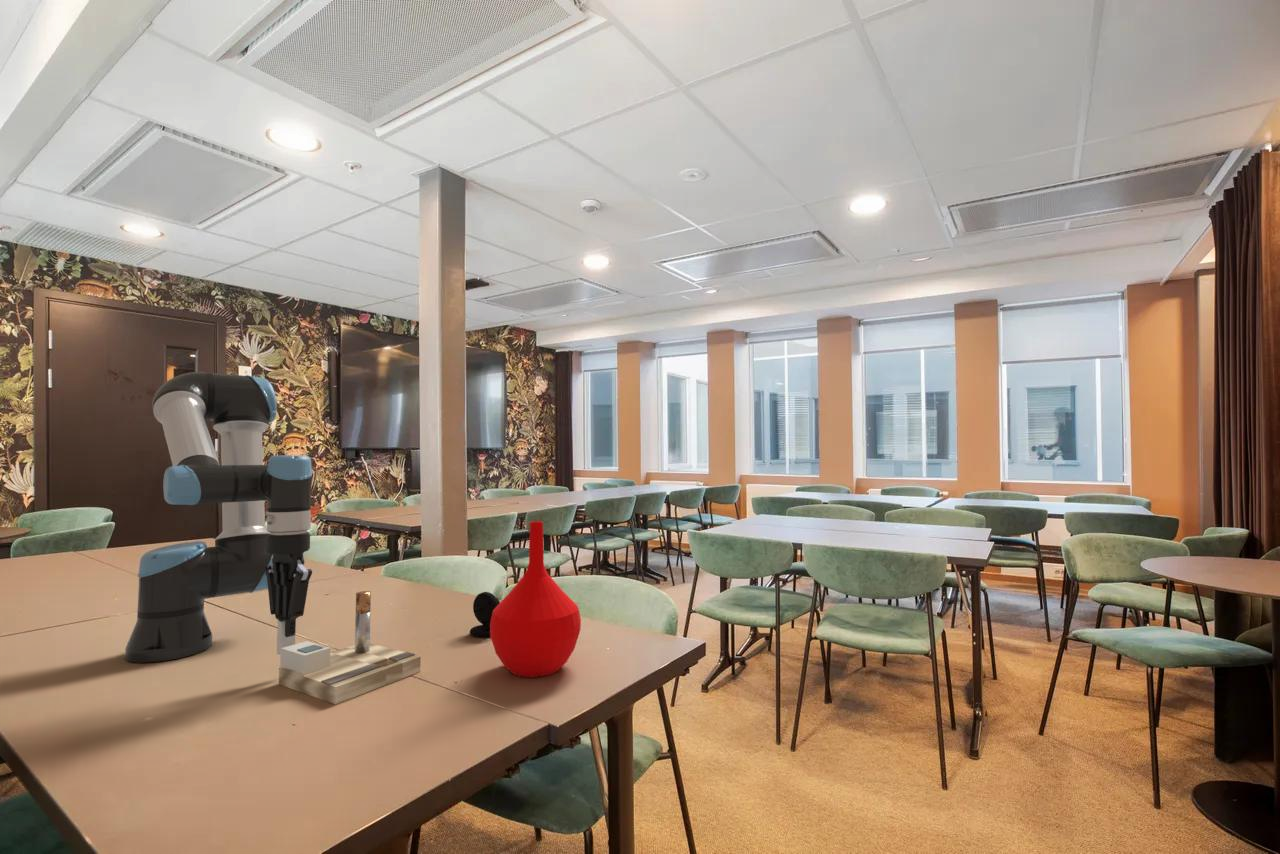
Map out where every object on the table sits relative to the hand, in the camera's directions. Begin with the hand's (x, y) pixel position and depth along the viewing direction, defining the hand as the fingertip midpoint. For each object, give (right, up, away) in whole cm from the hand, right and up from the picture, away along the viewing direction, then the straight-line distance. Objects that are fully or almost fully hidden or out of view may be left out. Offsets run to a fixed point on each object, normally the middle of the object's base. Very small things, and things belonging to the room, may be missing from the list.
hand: (285, 652), depth 116 cm
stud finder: (+6, -2, -3) cm, 7 cm away
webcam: (+32, -6, +27) cm, 43 cm away
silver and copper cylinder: (+13, -2, +5) cm, 14 cm away
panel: (+13, -5, -1) cm, 14 cm away
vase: (+49, -5, +4) cm, 49 cm away
